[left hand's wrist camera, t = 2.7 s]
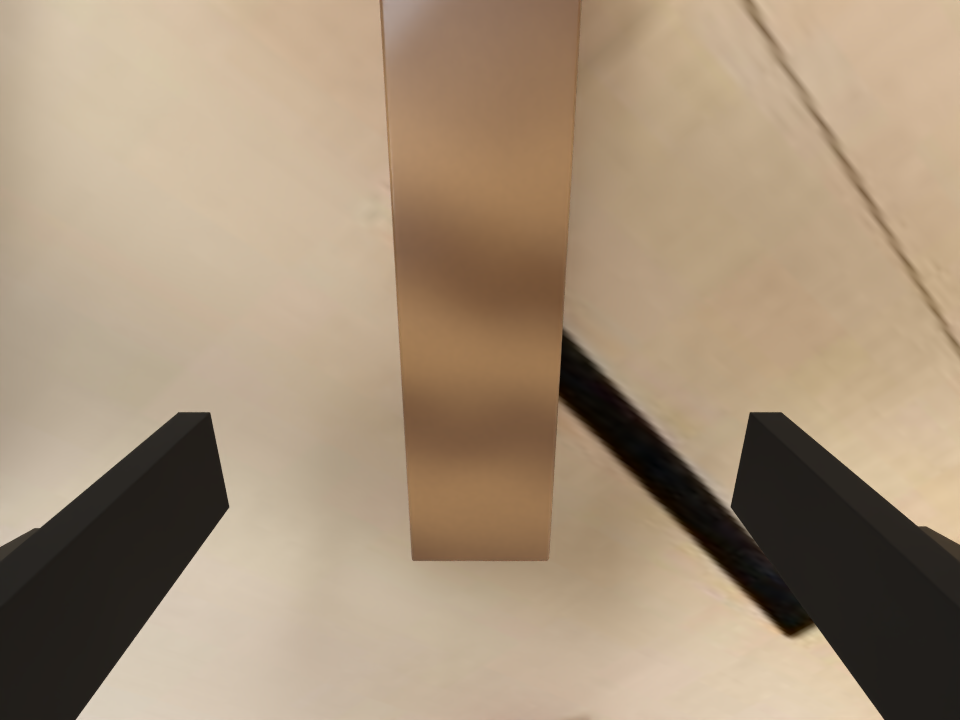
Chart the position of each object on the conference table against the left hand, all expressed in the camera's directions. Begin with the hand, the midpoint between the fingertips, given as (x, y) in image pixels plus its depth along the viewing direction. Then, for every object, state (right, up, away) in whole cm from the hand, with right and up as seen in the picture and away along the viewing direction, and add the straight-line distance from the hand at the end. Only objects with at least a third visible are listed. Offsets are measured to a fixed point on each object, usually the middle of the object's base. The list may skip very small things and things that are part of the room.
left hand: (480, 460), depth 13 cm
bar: (0, +26, +3) cm, 26 cm away
